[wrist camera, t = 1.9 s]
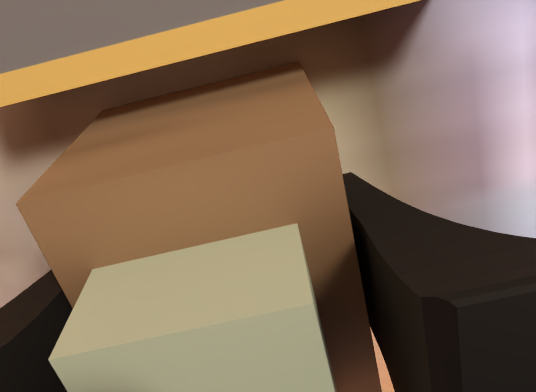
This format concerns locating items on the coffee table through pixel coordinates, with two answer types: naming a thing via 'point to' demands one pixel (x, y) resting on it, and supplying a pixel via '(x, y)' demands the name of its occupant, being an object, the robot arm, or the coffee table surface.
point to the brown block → (211, 194)
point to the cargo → (200, 322)
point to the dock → (140, 35)
